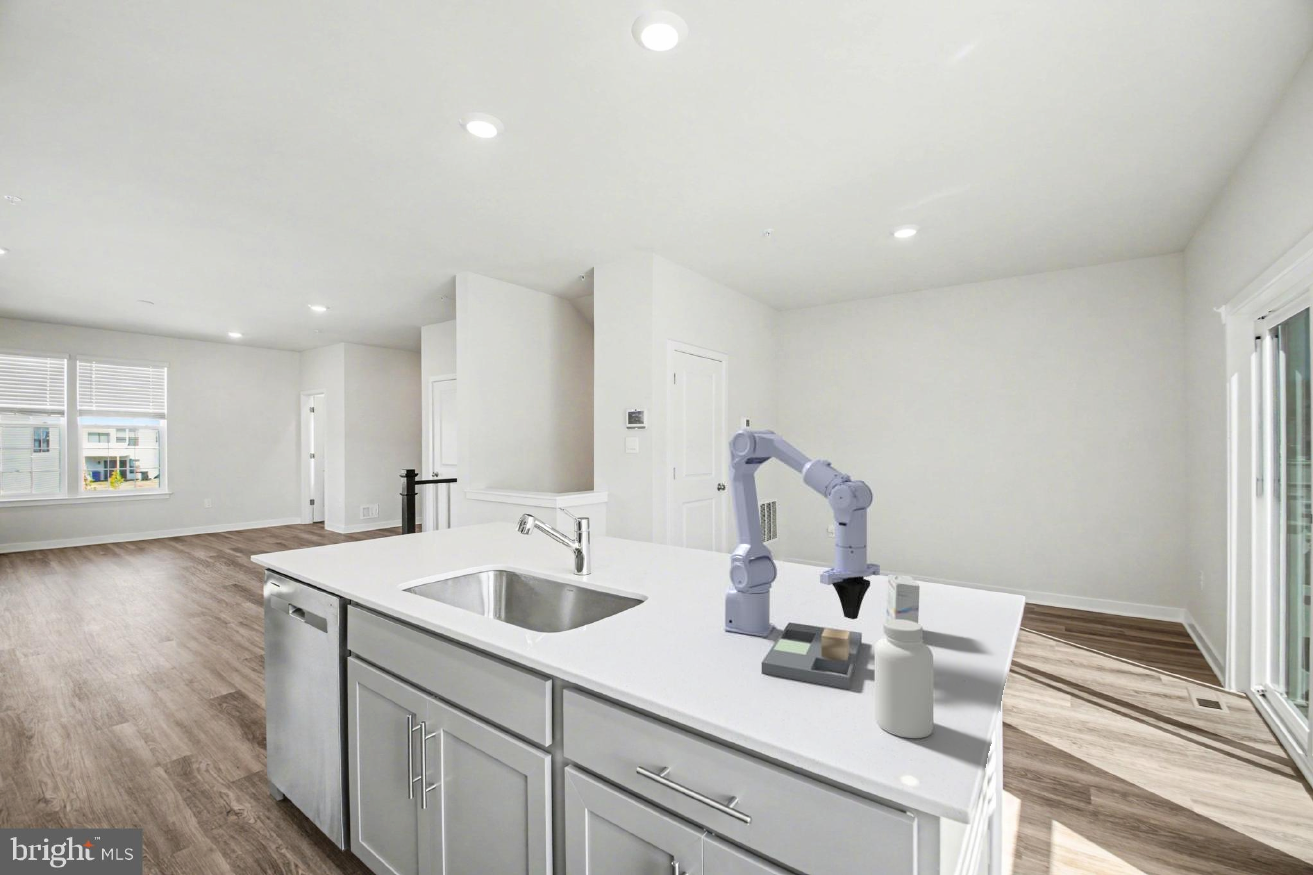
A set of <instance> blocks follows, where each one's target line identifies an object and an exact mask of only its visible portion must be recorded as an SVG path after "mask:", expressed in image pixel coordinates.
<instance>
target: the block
mask: <svg viewBox="0 0 1313 875" xmlns="http://www.w3.org/2000/svg"><path fill="white" fill-rule="evenodd" d="M829 628H830V627H825V629H824V631H823V634H822V644H821V657H823V658H829V659H835V660H841V661H847V660H848V657H849V653H850V631H851V630H846V631H843V630H844V629H839V630H836V629H837V628H832V629H829Z"/></svg>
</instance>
